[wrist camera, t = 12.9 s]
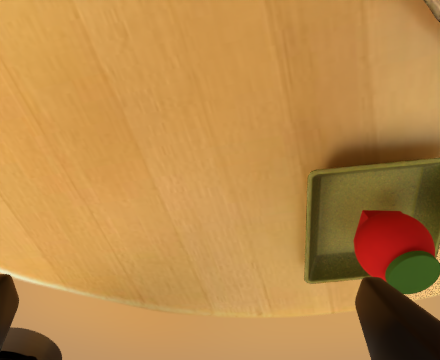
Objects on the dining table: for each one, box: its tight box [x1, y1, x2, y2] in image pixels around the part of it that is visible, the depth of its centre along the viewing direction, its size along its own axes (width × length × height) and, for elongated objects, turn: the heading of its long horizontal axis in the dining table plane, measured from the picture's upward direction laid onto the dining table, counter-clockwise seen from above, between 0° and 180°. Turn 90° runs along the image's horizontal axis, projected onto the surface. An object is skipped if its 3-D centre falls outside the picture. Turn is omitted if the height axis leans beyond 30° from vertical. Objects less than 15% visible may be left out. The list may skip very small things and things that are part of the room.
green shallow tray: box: [304, 157, 440, 284], centre depth 21 cm, size 9×9×2 cm
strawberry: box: [353, 210, 440, 294], centre depth 18 cm, size 4×4×4 cm
